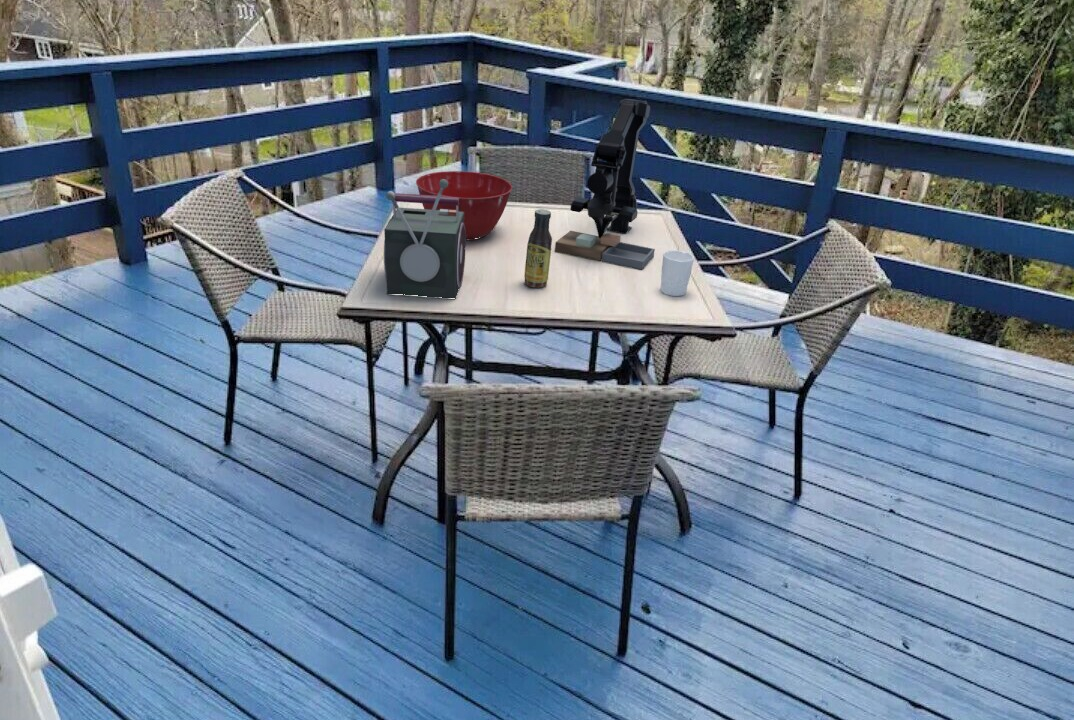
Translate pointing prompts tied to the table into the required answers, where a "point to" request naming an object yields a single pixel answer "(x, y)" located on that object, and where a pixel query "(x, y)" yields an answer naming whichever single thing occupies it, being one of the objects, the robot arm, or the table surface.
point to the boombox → (424, 246)
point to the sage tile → (585, 240)
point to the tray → (628, 255)
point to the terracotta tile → (610, 239)
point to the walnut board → (580, 247)
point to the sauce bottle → (538, 251)
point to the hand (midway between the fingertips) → (600, 237)
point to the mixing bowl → (470, 197)
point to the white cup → (676, 272)
